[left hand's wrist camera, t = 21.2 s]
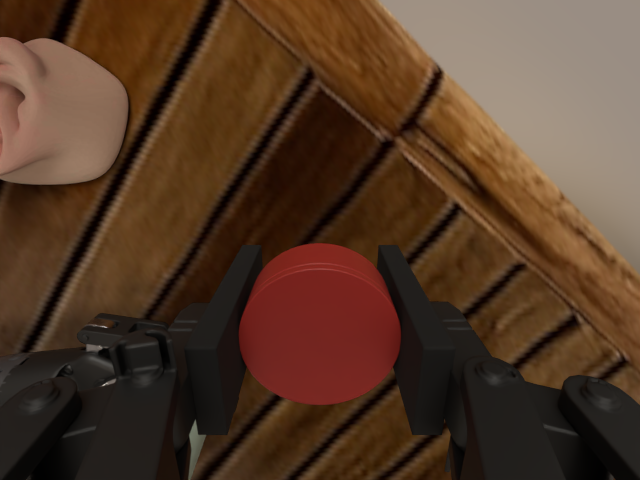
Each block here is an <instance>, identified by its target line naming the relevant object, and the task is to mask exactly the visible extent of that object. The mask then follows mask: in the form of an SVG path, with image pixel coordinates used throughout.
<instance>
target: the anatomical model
mask: <svg viewBox="0 0 640 480" xmlns="http://www.w3.org/2000/svg"><path fill="white" fill-rule="evenodd" d="M127 119H128V96H127V93H126V90H125V88H124V87H123V85H122V84H121V82H120V81H119V80H118V79H117V78H116V77H115V76H113V75H112V74H111V73H110V72H108V71H107V70H106V69H104V68H103V67H102V66H100V65H99V64H97V63H96V62H94V61H93V60H91V59H90V58H88V57H87V56H85V55H83V54H82V53H80V52H78V51H76V50H74V49H72V48H70V47H68V46H66V45H64V44H62V43H59V42H57V41H54V40H51V39H43V38H42V39H35V40H32V41H29V42H26V43H24V44H23V43H21V42H19V41H17V40H15V39H12V38H8V37H0V179H2V180H5V181H8V182H13V183H20V184H37V185H51V184H71V183H79V182H85V181H89V180H93V179H96V178H98V177H100V176H101V175H103V174H104V173H106V172H107V171H108V170H109V168H110V167H111V166H112V164H113V163H114V161H115V159H116V157H117V156H118V153H119V151H120V148H121V145H122V142H123V138H124V135H125V130H126V125H127Z"/></svg>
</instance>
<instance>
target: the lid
mask: <svg viewBox="0 0 640 480" xmlns="http://www.w3.org/2000/svg"><path fill="white" fill-rule="evenodd" d="M400 342H401V326H400V322H399V318H398V315H397V312H396V310H395V307H394V304H393V302H392V299H391V297H390V294H389V291H388V289H387V286H386V284H385V282H384V279H383V277H382V276H381V274H380V273H379V271H378V270H377V269H376V268H375V266H374V265H373V264H372V263H371V262H370V261H368V260H367V259H366V258H365V257H363V256H362V255H360V254H358V253H357V252H355V251H353V250H350V249H348V248H345V247H342V246H338V245H333V244H323V243H316V244H307V245H301V246H298V247H295V248H292V249H289V250H287V251H285V252H283V253H281V254H280V255H278V256H277V257H275V258H274V259H273V260H271V261H270V262H269V263H268V264H267V265H266V266H265V267H264V268H263V270H262V271H261V272H260V274H259V275H258V277H257V279H256V281H255V283H254V285H253V288H252V291H251V293H250V296H249V299H248V301H247V304H246V307H245V309H244V312H243V314H242V318H241V321H240V325H239V345H240V352H241V355H242V358H243V360H244V362H245V364H246V366H247V368H248V369H249V371H250V372H251V374H252V375H253V376H254V377H255V378H256V379H257V380H258V382H260V383H261V384H262V385H263V386H264V387H266V388H267V389H268V390H270V391H272V392H273V393H275V394H277V395H279V396H281V397H283V398H286V399H288V400H291V401H295V402H299V403H304V404H311V405H328V404H336V403H341V402H345V401H349V400H351V399H354V398H357V397H359V396H361V395H363V394H365V393H367V392H368V391H370V390H371V389H373V388H374V387H375V386H377V385H378V384H379V383H380V382H381V381H382V380H383V379H384V378H385V377H386V376H387V375H388V373H389V372H390V370H391V369H392V368H393V366H394V364H395V362H396V360H397V357H398V354H399V351H400Z"/></svg>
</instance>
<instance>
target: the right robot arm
mask: <svg viewBox="0 0 640 480" xmlns="http://www.w3.org/2000/svg"><path fill="white" fill-rule="evenodd" d="M147 328H159V329H163V330H167V331H168V328H169V325H168V324H166V323H165V322H159V321H152V320H145V319H139V318H132V317H125V316H118V315H111V314H104V313H101V314H98V315H97V316H96V317H95V318H94V319H92V320H91V321H90V322H89V323H88V324H87V325H86V326H85V327H84V328H83V329H82V330H81V331H80V332H78V334H77V338H78V340H79V341H80V342H82V343H84V344H86V347H78V348H69V349H59V350H49V351H40V352H31V353H19V354H13V355H7V356H3V357H0V407H1V406H2V405H3V404H4V403H5V402H6V401H8V400H9V399H10V398H11V397H12V396H14V395H15V394H16V393H18V392H19V391H20V390H22V389H24V388H26V387H28V386H30V385H32V384H34V383H36V382H39V381H42V380H45V379H48V378H54V377H67V378H71V379H72V380H74V381H75V382H76V384H77V387H78V390H79V391H83V390H87V389H92V388H96V387H101V386H105V385H109V384H112V383H115V381H116V376H115V373H114V369H113V365H112V361H111V357H110V353H109V348H110V347H111V346H112V345H113V344H114V342H116V341H117V340H119V339H120V338H122V337H123V336H125V335H127V334H130V333H132V332H134V331H138V330H142V329H147ZM238 400H239V397H238V399H237V403H238ZM237 403H236V406H235V410H236V407H237ZM235 410H234V412H235Z"/></svg>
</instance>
